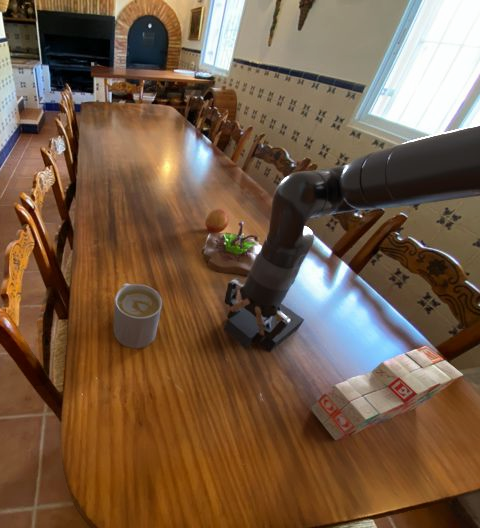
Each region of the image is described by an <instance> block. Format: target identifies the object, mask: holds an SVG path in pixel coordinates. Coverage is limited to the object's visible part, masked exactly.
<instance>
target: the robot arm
mask: <svg viewBox="0 0 480 528" xmlns="http://www.w3.org/2000/svg"><path fill="white" fill-rule="evenodd" d="M473 197H475V198H476V197H480V124H477V125H473V126H469V127H464V128H459V129H455V130H450V131H445V132H441V133H437V134H432V135H429V136H425V137H421V138H417V139H413V140H410V141H407V142H403V143H399V144H396V145H393V146H389V147H386V148H382V149H380V150H379V149H378V150H375V151H373V152H369V153H366V154H364V155H361V156H359V157H357V158H354V159H353V160H351V161H350V162H349V163H347V164H343V165H339V166H335V167H330V168H324V169H322V168H321V169H313V170H302V171H295V172H292V173H290V174H289V175H287V176H285V177H284V178H283V179H282V180H281V181H280V183H279V184H278V185H277V187H276V188H275V190H274V192H273V197H272V200H271V208H270V218H269V226H268V227H269V228H268V232H267V235H266V237H265V239H264V241H263V244H262V245H261V246H262V248H261V250H260V252H259V253H258V255H257V256H256V258H255V260H254V263H253V265H252V267H251V269H250V272H249V274H248V276H246V279H245V281H244V284H243V283H241V280H240V278H237V277H236V278H234V279H232V280H231V281H229V282H228V283H227V287H226V292H225V296H224V304H225V305H228V307H229V312H228V314H227V316H226V317H227V320H228V319H229V318H231V317H232V316H234V315H236V314H237V313H239V312H240V310H241V309H240V308H242V307H245V309H246V310H247V311H249V312H251V313H252V314H253V315H254V316H255V317H256V319H257V325H258V326H259V331H258V332H257V333H256V336H255V337H254V339H253V341H252V342H253V343H252V344H253V345H256V344H257V345H260V344H259V343H261V342H262V341H263V340H264V339H265V337H266V336H268V338H269V339H271V340H272V339H274V338H275V337H276V336H277V335H279V334H280V333H281V332H282V331H283V330H284V329H285V328H286V327H287V326H288V325H289V324H290V323H291V322H292V321H293V318H292V317H291V316H287V317H286V316H285V315H284V314H283V313H282V312H280V304H283V301H284V299H285V298H286V296H287V294H288V292H289V291H290V289H291V287H292V286H293V285H294V283H295V281H296V279H297V276H298V274H299V272H300V269H301V267H302V265H303V263H304V261H305V259H306V258H307V256H308V254H309V252H310V250H311V249H312V246H313V245H314V241H315V235H314V233H313V231H312V229H310V228H309V227H308V226H306V224H307V223H308V221H309V220H310V219H312V218H318V217H324V216H325V217H326V216H331V215H337V214H343V213H349V212H354V211H359V210H360V211H369V210H370V211H373V210H383V209H392V208H400V207H407V206H417V205H421V204H422V205H423V204H431V203H438V202H444V201H453V200H459V199H466V198H473ZM238 292H239V294H240V298H241V300H240V301H237V296H238ZM272 316H276V324H277V325H276V326H275V328H274V329H272V328H271V320H272Z"/></svg>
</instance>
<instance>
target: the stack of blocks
mask: <svg viewBox="0 0 480 528" xmlns="http://www.w3.org/2000/svg"><path fill="white" fill-rule="evenodd" d="M462 377H464V374H463V373H462V372H460V371H459V370H458V369H457V368H455V367H454V366H453V365H452V364H451V363H449V362H448V361H447V360H444V358H442V356H440V355H439V354H438V353H436V352H435V351H434V350H432V348H430V347H428V346H427V345H425V346H422V347H419V348H414V349H412V350H410V351H407V352H406V353H401V354H398V355H396V356H394V357H391V358H389V359H387V360H383V361H382V362H380V363H379V364H378V365H377V366H376V367H375V368H374V369H373V370H371V371H369V372H366V373H364V374H360V375H356V376H353V377H350V378H347V379H346V380H345V381H341V382H339V383H335V384H334V385H333V386H332V387H330V389H329V390H327V392H325V393H324V394H323V395H322V396H321V397H320V398H318V399H317V401H316V402H315V403H314V404H313V405H312V406H311V407H310V410H311V412H312V413H313V414H314V415H315V417H316V418H317V419H318V421H319V422H320V423H321V424H322V426H323V427H324V428H325V430H326V431H327V432H328V434H329V435H330V436H331V437H332V438H333V440H334V441H337V442H338V441H339V440H341V439H344V438H346V437H348V436H349V437H350V436H352V435H355V434H357V433H360V432H362V431H364V430H367V429H369V428H371V427H373V426H375V425H378V424H379V423H383V422H384V421H386V420H389V419H391V418H394V417H398V416H400V415H403V414H404V413H408V412H410V411H413V410H415V409H417V408H419V406H421V405H423V404H424V403H426V402H427V401H428V400H429V399H431V398H432V397H433V396H435V395H436V394H438V393H440V392H442V391H443V390H444V389H446V388H447V387H448V386H450V385H451V384H453V383H455V382H456V381H457V380H459V379H460V378H462Z"/></svg>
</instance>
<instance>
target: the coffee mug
mask: <svg viewBox="0 0 480 528" xmlns="http://www.w3.org/2000/svg"><path fill="white" fill-rule="evenodd" d="M162 300H163V299H162V297H161V295H160V293H159V292H158V291H157V290H155V289H154V288H153V287H151V286H148V285H145V284H141V283H133V284H130V283H124V284H122V286H121V288H120V289H119V290H118V291H117V292H116V293H115V297H114V308H113V309H114V311H113V328H112V329H113V330H112V331H113V336H114V337H115V339H116V340H117V341H118V342H119V343H120V345H122V346H125V347H127V348H130V349H142V348H146V347H148V346H150V345H151V344H152V343H153V342H154V341H155V339H156V336H157V332H158V327H159V322H160V317H161V312H162V307H163V301H162Z"/></svg>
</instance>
